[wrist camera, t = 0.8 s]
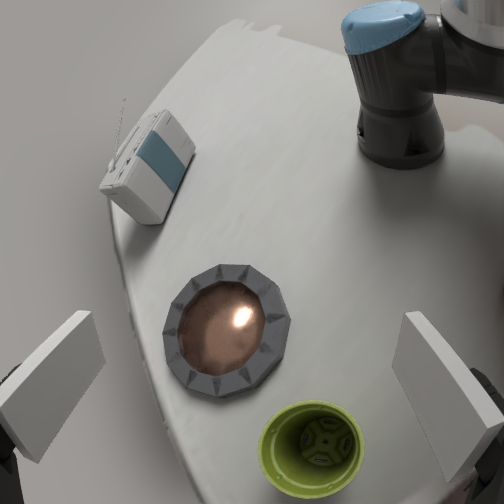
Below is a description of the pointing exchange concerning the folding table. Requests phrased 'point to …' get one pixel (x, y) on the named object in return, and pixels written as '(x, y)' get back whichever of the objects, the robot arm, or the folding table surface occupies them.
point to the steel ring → (226, 330)
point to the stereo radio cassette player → (149, 167)
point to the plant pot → (311, 449)
